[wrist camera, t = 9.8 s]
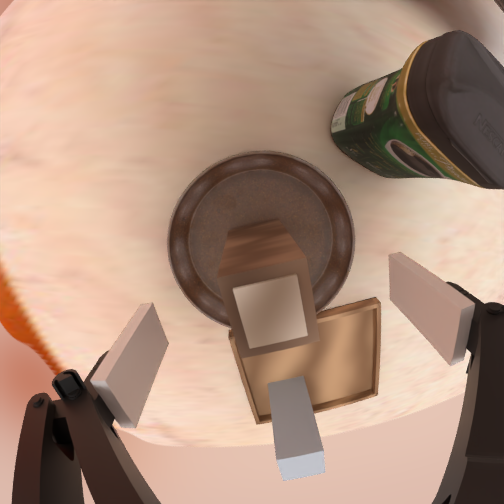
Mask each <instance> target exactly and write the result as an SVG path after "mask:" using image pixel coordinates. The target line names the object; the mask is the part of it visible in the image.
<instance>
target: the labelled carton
mask: <svg viewBox="0 0 504 504" xmlns="http://www.w3.org/2000/svg"><path fill="white" fill-rule="evenodd" d="M217 281H218V285H219V288H220V292H221V295H222V298H223V302H224V305H225V308H226V312H227V315H228V318H229V321H230V325H231V328H232V331H233V334H234V338H235V341H236V344H237V347H238V350H239V353H240V356H241V359H242V358H247V357H252V356H257V355H262V354H267V353H272V352H276V351H281V350H285V349H289V348H294V347H298V346H302V345H306V344H310V343H314V342H318V341H320V337H319V331H318V324H317V317H316V311H315V304H314V298H313V292H312V286H311V280H310V274H309V269H308V263H307V258H306V256H305V255H304V253H303V252H302V250H301V249H300V248H299V246H298V245H297V243H296V242H295V241H294V239H293V238H292V237H291V235H290V234H289V233H288V231H287V230H286V228H285V227H284V226H283V224H282V223H281V222H280V220H279V219H274V220H270V221H265V222H261V223H257V224H252V225H248V226H244V227H240V228H236V229H231V230H228V234H227V238H226V242H225V246H224V250H223V254H222V258H221V262H220V266H219V270H218V274H217Z"/></svg>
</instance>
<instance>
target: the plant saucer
mask: <svg viewBox="0 0 504 504" xmlns="http://www.w3.org/2000/svg"><path fill="white" fill-rule="evenodd" d="M274 219H279V220H280V222H281V223H282V224H283V226H284V227H285V228H286V230H287V231H288V233H289V234H290V235H291V237H292V238H293V239H294V241H295V242H296V243H297V245H298V246H299V248H300V249H301V250H302V252H303V253H304V255H305V256H306V258H307V263H308V269H309V274H310V280H311V286H312V292H313V298H314V304H315V311H316V314H318V313H319V312H321V311H322V310H323V309H324V308H325V307H326V306H327V305H328V304H329V303H330V302H331V301H332V300H333V299H334V298H335V296H336V295H337V294H338V292H339V291H340V289H341V288H342V286H343V284H344V283H345V281H346V279H347V277H348V274H349V272H350V269H351V265H352V261H353V257H354V251H355V231H354V224H353V220H352V216H351V213H350V210H349V207H348V205H347V203H346V201H345V199H344V197H343V196H342V194H341V192H340V191H339V189H338V188H337V187H336V185H335V184H334V183H333V182H332V181H331V180H330V179H329V178H328V177H327V176H326V175H325V174H324V173H323V172H322V171H320V170H319V169H318V168H316V167H315V166H313V165H312V164H310V163H308V162H306V161H304V160H302V159H300V158H298V157H295V156H292V155H289V154H284V153H279V152H272V151H255V152H247V153H241V154H238V155H234V156H231V157H228V158H226V159H223V160H221V161H219V162H217V163H215V164H214V165H212V166H210V167H209V168H207V169H206V170H205V171H203V172H202V173H201V174H200V175H198V176H197V177H196V178H195V179H194V180H193V181H192V182H191V183H190V184H189V186H188V187H187V188H186V189H185V191H184V192H183V194H182V195H181V197H180V198H179V200H178V202H177V204H176V206H175V208H174V211H173V213H172V216H171V219H170V224H169V228H168V238H167V248H168V257H169V262H170V266H171V269H172V273H173V275H174V278H175V280H176V282H177V284H178V286H179V287H180V289H181V291H182V292H183V294H184V295H185V297H186V298H187V299H188V300H189V301H190V302H191V303H192V305H193V306H194V307H196V308H197V309H198V310H199V311H200V312H201V313H203V314H204V315H205V316H207V317H208V318H210V319H211V320H213V321H215V322H217V323H219V324H221V325H224V326H226V327H229V328H231V325H230V321H229V318H228V315H227V312H226V308H225V305H224V302H223V298H222V295H221V292H220V288H219V285H218V281H217V274H218V270H219V266H220V262H221V258H222V254H223V250H224V246H225V242H226V238H227V234H228V230H231V229H236V228H240V227H244V226H248V225H252V224H257V223H261V222H265V221H270V220H274Z"/></svg>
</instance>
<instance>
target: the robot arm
mask: <svg viewBox="0 0 504 504" xmlns="http://www.w3.org/2000/svg"><path fill="white" fill-rule="evenodd" d="M494 1H495V2H496V3H497V5H498V6H499V7H500V8H501V10H502V11H503V12H504V0H494ZM389 278H390V300H391V301H392V302H393V303H394V304H395V305H396V306H397V307H398V308H399V309H400V311H401V312H402V313H403V314H404V315H405V316H406V317H407V318H408V319H409V320H410V321H411V322H412V323H413V325H414V326H415V327H416V328H417V329H418V330H419V331H420V332H421V333H422V334H423V336H424V337H425V338H426V339H427V340H428V341H429V342H430V343H431V345H432V346H433V347H434V348H435V349H436V350H437V351H438V353H439V354H440V355H441V356H442V357H443V358H444V359H445V361H446V362H447V363H448V364H449V365H450V366H452V365H454V364H456V363H458V362H460V361H462V360H464V357H465V353H466V349H468V350H469V351H470V352H471V357H470V360H469V364H468V367H467V371H466V373H468V377H467V384H466V391H465V396H464V402H463V407H462V412H461V417H460V421H459V426H458V430H457V434H456V438H455V441H454V445H453V449H452V452H451V455H450V459H449V462H448V465H447V468H446V471H445V474H444V477H443V479H442V482H441V485H440V487H439V490H438V493H437V495H436V497H435V499H434V501H433V502H432V504H504V305H502V304H500V303H495V302H490V303H486V304H484V303H483V302H481V301H480V300H479V299H477V298H476V297H474V296H473V295H472V294H469V292H467V291H466V290H464V289H463V288H462V287H460V286H459V285H457V284H454V283H451V282H445V281H443V280H442V279H440V278H439V277H437V276H436V275H434V274H433V273H431V272H430V271H428V270H427V269H426V268H424V267H423V266H421V265H420V264H418V263H417V262H415V261H413V260H412V259H410V258H409V257H407V256H406V255H404V254H403V253H401V252H398V253H394V254H390V255H389ZM168 344H169V343H168V341H167V338H166V336H165V333H164V331H163V328H162V326H161V323H160V320H159V318H158V315H157V313H156V310H155V307H154V304H153V303H148V304H142V305H140V307H139V308H138V309H137V311H136V312H135V314H134V315H133V317H132V318H131V319H130V321H129V322H128V324H127V325H126V327H125V328H124V330H123V331H122V333H121V334H120V335H119V337H118V338H117V340H116V341H115V343H114V344H113V346H112V347H111V349H110V350H109V351H107V352H106V353H104V354H103V355H102V356H101V357H100V358H99V360H98V361H97V363H96V365H95V366H94V367H93V370H91V372H90V373H89V375H88V376H87V378H86V379H85V381H84V382H83V381H82V379H81V378H80V376H79V374H78V373H77V371H76V370H73V369H70V370H66V371H63V372H61V373H59V374H58V375H57V376H56V377H55V378H54V379H53V381H52V386H53V387H54V389H55V390H56V392H57V394H58V395H59V396H60V398H61V399H60V400H55V401H52V400H51V398H50V397H49V395H48V394H47V393H39V394H36V395H34V396H33V397H32V398H31V399H30V401H29V402H28V404H27V408H26V412H25V416H24V420H23V425H22V429H21V434H20V439H19V445H18V451H17V457H16V465H15V472H14V481H13V492H12V504H84V497H83V488H82V477H81V469H82V472H83V475H84V477H85V480H86V483H87V485H88V488H89V490H90V492H91V495H92V497H93V500H94V502H95V504H161V503H160V501H159V500H158V499H157V497H156V496H155V494H154V493H153V491H152V490H151V489H150V487H149V486H148V484H147V483H146V481H145V480H144V478H143V476H142V475H141V473H140V472H139V470H138V469H137V467H136V465H135V464H134V462H133V460H132V459H131V457H130V455H129V453H128V452H127V450H126V448H125V446H124V444H123V443H122V441H121V439H120V437H119V435H118V433H117V431H116V430H115V428H114V427H113V425H112V424H113V421H114V419H116V421H117V422H118V424H119V425H120V426H121V427H124V428H136V427H137V424H138V421H139V419H140V416H141V413H142V411H143V408H144V405H145V403H146V400H147V397H148V395H149V392H150V390H151V387H152V384H153V382H154V379H155V377H156V374H157V372H158V369H159V367H160V364H161V362H162V359H163V357H164V354H165V352H166V349H167V347H168Z"/></svg>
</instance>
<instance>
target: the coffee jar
mask: <svg viewBox="0 0 504 504" xmlns="http://www.w3.org/2000/svg"><path fill="white" fill-rule="evenodd" d="M331 133H332V137H333V140H334V142H335V143H336V145H337V146H338V147H339V148H340V149H341V150H342V151H343V152H344V153H345V154H347V155H348V156H350V157H351V158H352V159H354V160H355V161H356V162H358V163H360V164H361V165H363V166H364V167H366V168H367V169H369V170H371V171H373V172H375V173H377V174H379V175H381V176H383V177H386V178H444V179H451V180H456V181H460V182H464V183H467V184H471V185H474V186H477V187H481V188H486V189H504V67H503V66H502V65H501V64H500V63H499V61H498V60H497V59H496V58H495V57H494V56H493V55H492V54H491V53H490V52H489V51H488V50H487V49H486V48H485V47H484V46H483V45H482V44H481V43H480V42H479V41H478V40H477V39H476V38H474V37H473V36H471V35H470V34H468V33H466V32H464V31H460V30H458V31H452V32H448V33H445V34H443V35H442V36H440V37H436V38H434V39H431V40H428V41H425V42H423V43H421V44H420V45H419V46H418V47H417V48H416V49H415V50H414V51H413V52H412V53H411V55H410V56H409V58H408V59H407V61H406V62H405V64H404V66H403V68H402V69H400V70H398V71H395V72H393V73H391V74H389V75H386V76H384V77H381V78H379V79H377V80H374V81H371V82H369V83H366V84H363V85H361V86H359V87H357V88H355V89H353V90H352V91H350V92H349V93H348V94H346V95H345V97H344V98H343V99H342V101H341V102H340V104H339V106H338V107H337V109H336V111H335V114H334V117H333V120H332V124H331Z"/></svg>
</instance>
